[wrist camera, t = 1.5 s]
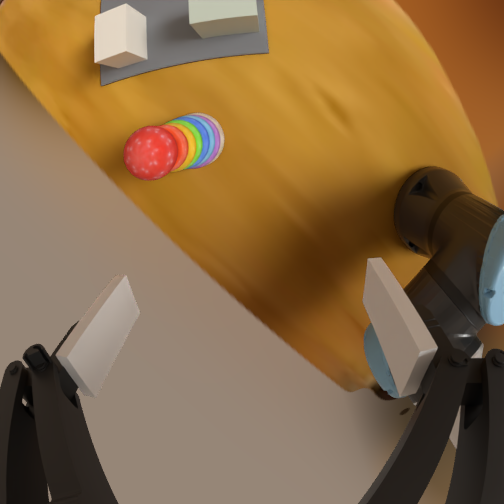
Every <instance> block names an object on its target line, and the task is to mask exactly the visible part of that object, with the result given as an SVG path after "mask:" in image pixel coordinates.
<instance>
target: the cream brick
mask: <svg viewBox="0 0 504 504" xmlns="http://www.w3.org/2000/svg"><path fill="white" fill-rule="evenodd" d="M94 59H95V63H98V64H102V65H107V66H111V67H115V68H122V67H125V66H128V65H131V64H134V63H138V62H141V61H144V60H148V58H147V33H146V17H145V16H144V15H143V14H141V13H140V12H138V11H137V10H135V9H134V8H132V7H131V6H129V5H128V4H123V5H121V6H118V7H115V8H113V9H111V10H108V11H106V12H103V13H101V14H99V15H97V16H95V34H94Z"/></svg>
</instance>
